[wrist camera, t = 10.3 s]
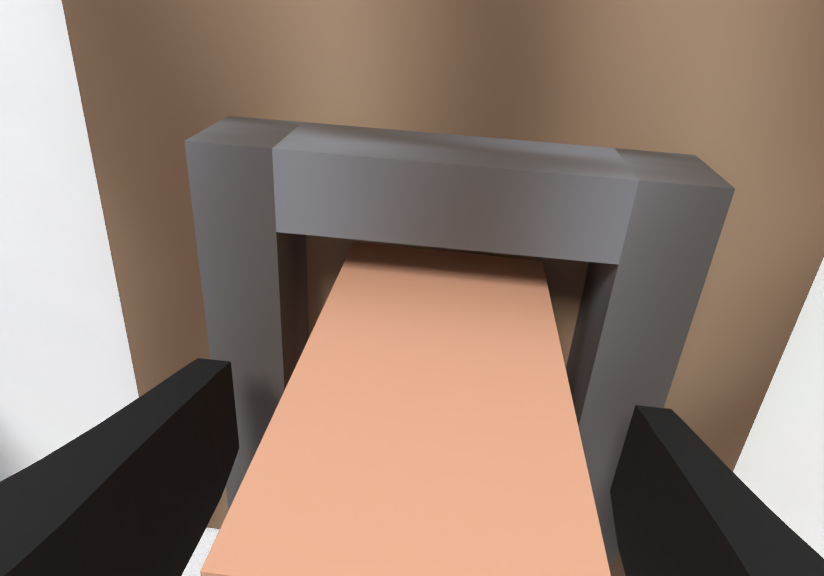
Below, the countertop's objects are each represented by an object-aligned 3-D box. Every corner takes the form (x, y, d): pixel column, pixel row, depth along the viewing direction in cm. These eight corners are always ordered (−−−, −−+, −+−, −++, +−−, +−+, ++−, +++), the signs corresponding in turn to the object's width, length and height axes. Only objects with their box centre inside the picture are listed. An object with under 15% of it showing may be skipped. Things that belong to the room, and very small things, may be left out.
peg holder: (178, 495, 18) (128, 583, 16) (81, -68, 11) (-39, -80, 9) (673, 556, 18) (708, 659, 15) (899, -14, 11) (1040, -9, 8)
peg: (350, 391, 15) (231, 777, 8) (353, 241, 13) (200, 571, 6) (514, 410, 14) (547, 826, 7) (542, 260, 13) (622, 628, 6)
